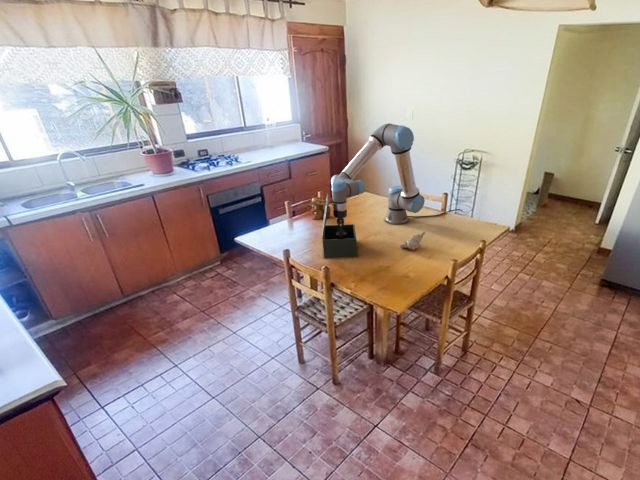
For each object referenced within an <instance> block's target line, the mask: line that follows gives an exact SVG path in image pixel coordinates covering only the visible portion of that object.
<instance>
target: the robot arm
mask: <svg viewBox="0 0 640 480" xmlns="http://www.w3.org/2000/svg"><path fill="white" fill-rule="evenodd" d="M414 140H415V135H414V132H413V131H412V129H411V128H410V127H408V126H406V125H401V124H400V125H398V124H394V123H385V124H382V125H381V126H379V127H377V129H376V130H374V131H373V132H372V133H371V135H370V136H369V137H368V140H367V142H366V143H365V144H364V145H363V146H362V147H361V149H360V150H358V152H357V153H356V155H354V157H353V158H352V159H351V161H349V162H348V163H347V165H346V166H345V167H344V168H343V169H342V171H341V172H340V173H339V174H334V175H333V176H332V177H331V179H330V184H331V196H332V197H331V198H332V203H331V206H332V209H333V210H332V215H333V217H334V218H336V225H338V228H339V239H344V237H343V228H344V225H345V218H346V217H347V216H348V210H347V208H348V207H347V206H348V205H347V204H348V203H347V202H348V201H347V198H350V197H354V196H359V195H363V194H364V192H365V191H366V185H365V182H364V181H363V180H361V179H356V180H354V179H355V178H356V177H357V175H359V173H360V172H361V171H362V170H363V169H364V167H365V166H366V165H367V164H368V163H369V161H370V160H371V159H372V158H373V157H374V156H375V155H376V154H377V153H378V151H381V150H383V148H384V147H386V146H388V147H390V151H391V154H392V155H394V158H395V162H396V167H397V171H398V176H399V181H400V185H394V186H390V187H389V189H388V196H387V198H388V202H387V203H388V205H387V206H388V207H387V212H386V215H385V219H384V220H385V222H386V223H388V224H390V225H404V224H406V223H407V222H408V220H409V218H415V219H416V218H418V219H419V218H430V217H438V216H442V215H444V214H447V213H450V212H456V211H460V212H464V211H463V210H462V209H461V208H455V209H451V210H447V211H444V212H441V213H438V214H435V215H433V214H432V215H419V216H418V215H417V216H414V215H413V216H412V215H408V213H407V212H409V213H413V214H416V213H419V212H420V211H421V210H423V207H424V205H425V201H426V199H425V197H424V196H423V195H422V194H421V193H420V188H419V187H417V186H416V181H415V174H414V169H413V165H412V159H411V158H412V157H411V152H410V151H411V150H412V146H413V145H414ZM446 212H447V213H446Z"/></svg>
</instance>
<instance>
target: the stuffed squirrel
mask: <svg viewBox="0 0 640 480" xmlns="http://www.w3.org/2000/svg"><path fill="white" fill-rule="evenodd" d="M316 199H317V200H322V199H321V197H318V198H316ZM316 202H317V203H322V202H320V201H316ZM331 211H332V210H331V207H330V206H329V207H328V213H327V219H328V218H329V217H330V216H331V215H332V213H331ZM310 212H311V213H312V214H313V213H314V216H313V217H312V219H313V220H321V219H324V212H325V205H319V204H315V205H312V206H311V210H310Z"/></svg>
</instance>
